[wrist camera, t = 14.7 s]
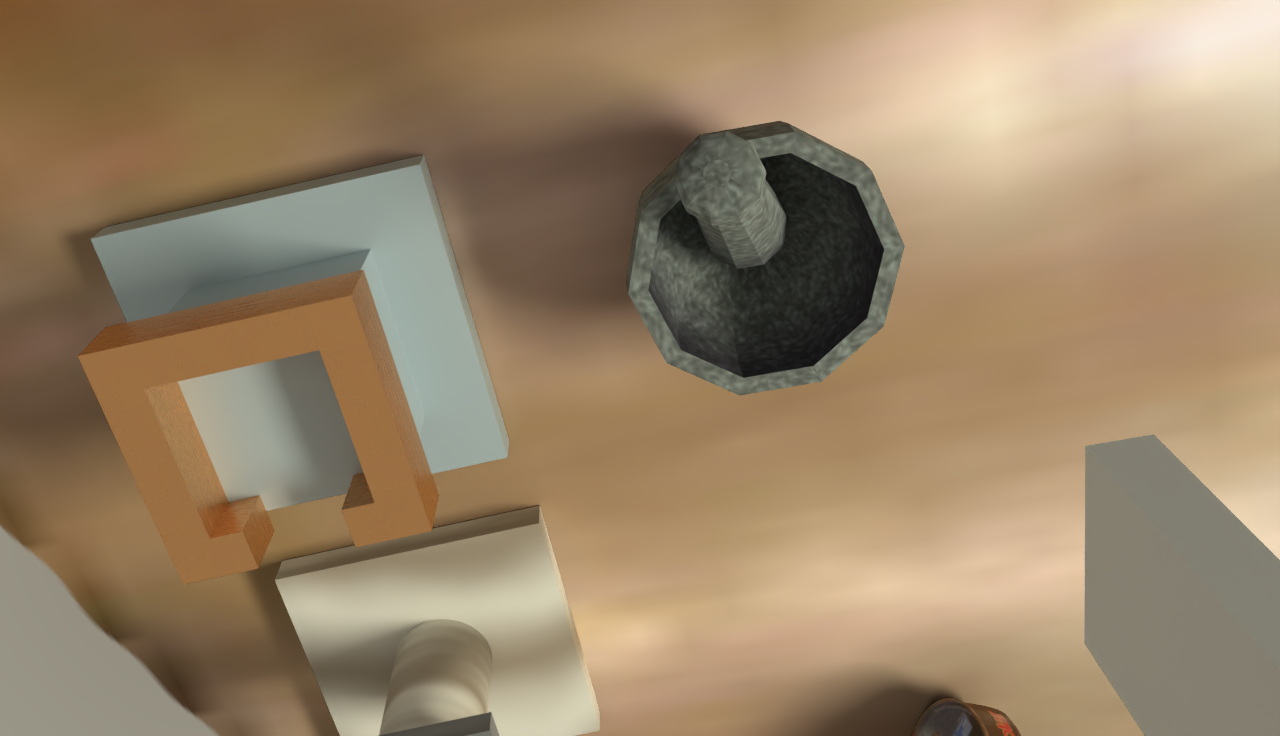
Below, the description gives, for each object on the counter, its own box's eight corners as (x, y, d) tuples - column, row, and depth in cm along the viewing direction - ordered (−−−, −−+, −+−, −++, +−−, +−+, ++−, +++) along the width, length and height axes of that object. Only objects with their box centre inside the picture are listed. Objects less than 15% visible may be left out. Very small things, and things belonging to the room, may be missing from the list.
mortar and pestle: (890, 263, 48) (986, 385, 37) (689, 361, 49) (724, 507, 38) (779, 15, 44) (851, 70, 33) (563, 130, 45) (561, 220, 34)
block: (104, 227, 45) (29, 288, 39) (424, 154, 45) (400, 204, 38) (222, 503, 51) (173, 597, 44) (509, 441, 50) (500, 526, 44)
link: (105, 327, 40) (77, 356, 37) (363, 269, 39) (351, 295, 37) (202, 546, 43) (182, 584, 41) (438, 495, 43) (431, 531, 41)
